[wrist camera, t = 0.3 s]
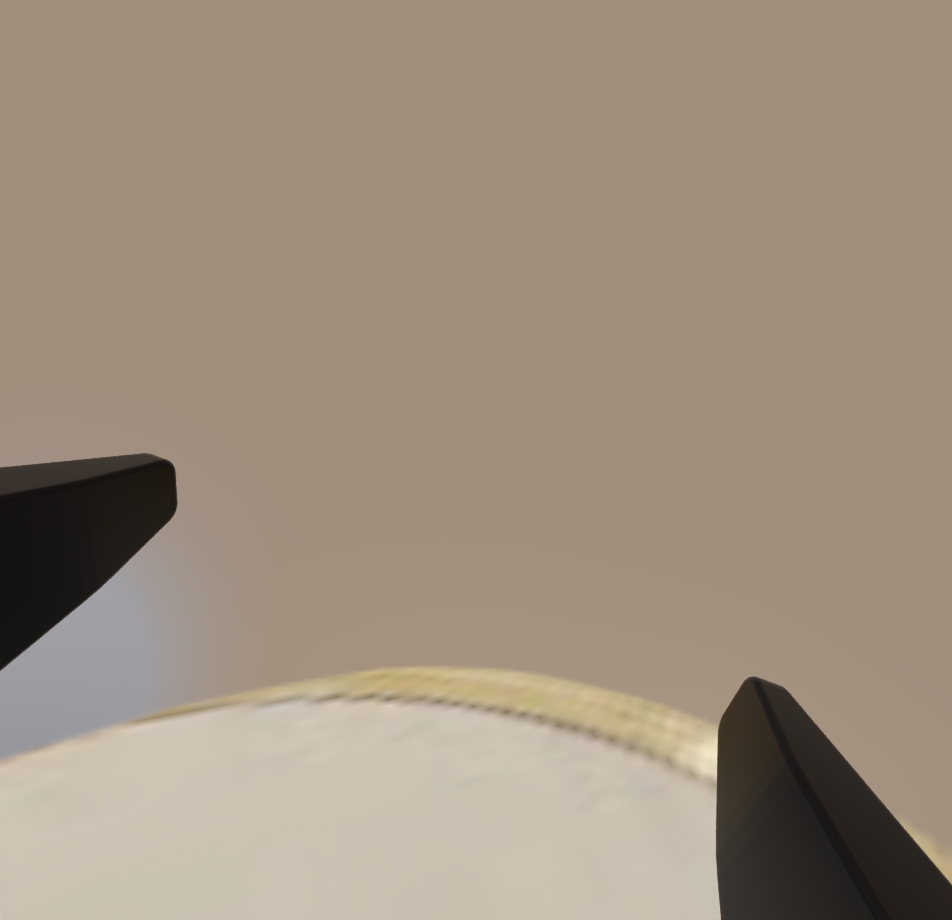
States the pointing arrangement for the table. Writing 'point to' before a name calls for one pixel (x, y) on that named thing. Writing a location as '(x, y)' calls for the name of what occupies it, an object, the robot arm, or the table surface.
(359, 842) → the table surface
